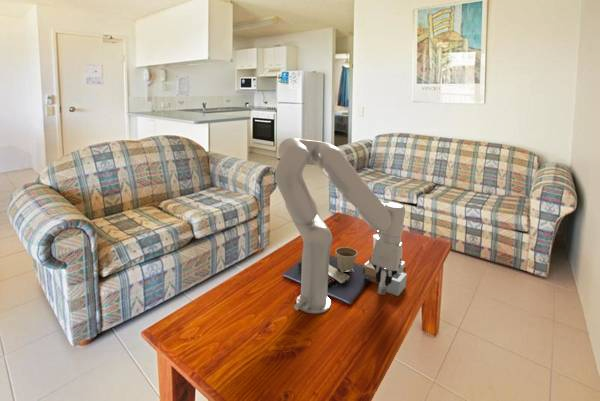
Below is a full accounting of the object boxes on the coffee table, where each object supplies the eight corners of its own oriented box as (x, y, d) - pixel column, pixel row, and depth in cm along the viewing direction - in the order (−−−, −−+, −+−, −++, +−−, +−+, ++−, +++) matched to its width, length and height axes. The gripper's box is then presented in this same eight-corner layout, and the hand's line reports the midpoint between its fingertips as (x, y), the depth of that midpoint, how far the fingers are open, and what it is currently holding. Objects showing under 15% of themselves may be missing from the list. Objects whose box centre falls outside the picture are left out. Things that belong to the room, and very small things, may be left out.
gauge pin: (383, 295, 135) (387, 271, 132) (376, 292, 137) (379, 268, 134) (386, 292, 138) (390, 268, 135) (379, 289, 139) (383, 265, 136)
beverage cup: (375, 249, 178) (377, 223, 174) (386, 253, 174) (389, 226, 170) (369, 253, 174) (371, 226, 169) (380, 257, 170) (383, 230, 166)
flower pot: (357, 275, 153) (358, 257, 151) (334, 274, 153) (336, 256, 151) (354, 265, 162) (356, 247, 160) (333, 264, 162) (334, 246, 160)
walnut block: (377, 283, 148) (379, 270, 146) (364, 279, 151) (365, 266, 149) (383, 277, 152) (384, 264, 151) (370, 273, 156) (371, 260, 154)
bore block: (398, 296, 139) (399, 282, 137) (378, 289, 143) (379, 275, 142) (405, 287, 145) (407, 273, 144) (386, 280, 150) (387, 267, 148)
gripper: (364, 234, 132) (358, 279, 137) (408, 247, 123) (400, 294, 129) (373, 228, 138) (367, 272, 143) (415, 240, 129) (407, 286, 135)
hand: (383, 282), depth 136 cm, fingers closed on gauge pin, 3 cm apart
